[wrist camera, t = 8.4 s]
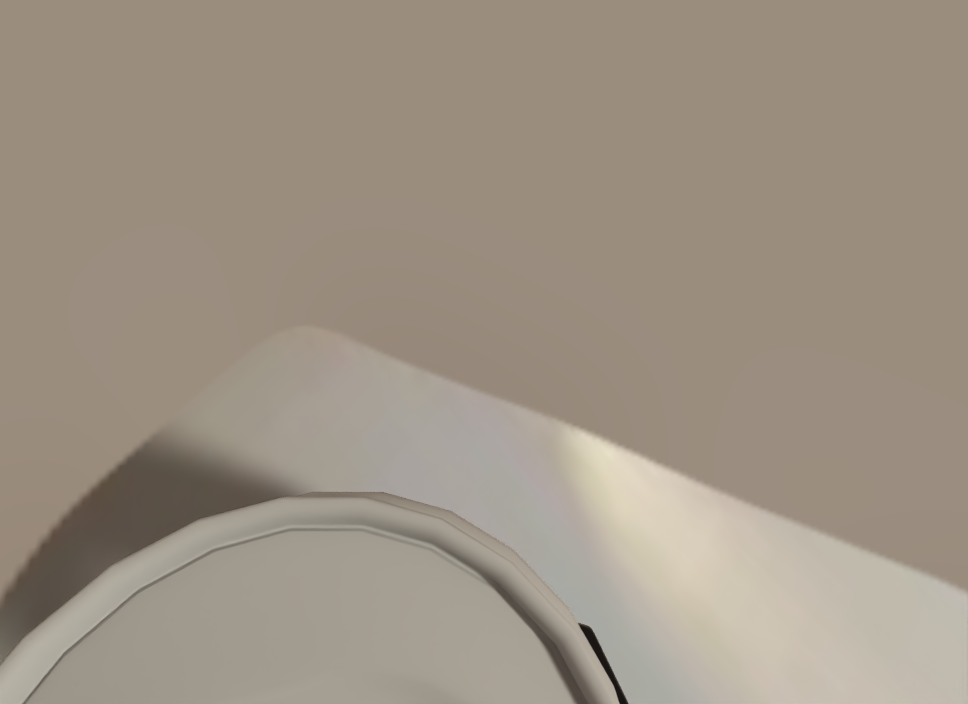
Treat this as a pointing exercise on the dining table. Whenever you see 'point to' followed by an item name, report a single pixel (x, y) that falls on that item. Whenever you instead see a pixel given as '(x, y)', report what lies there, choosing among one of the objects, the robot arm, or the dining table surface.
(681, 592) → the dining table surface
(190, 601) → the beverage can
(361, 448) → the dining table surface
